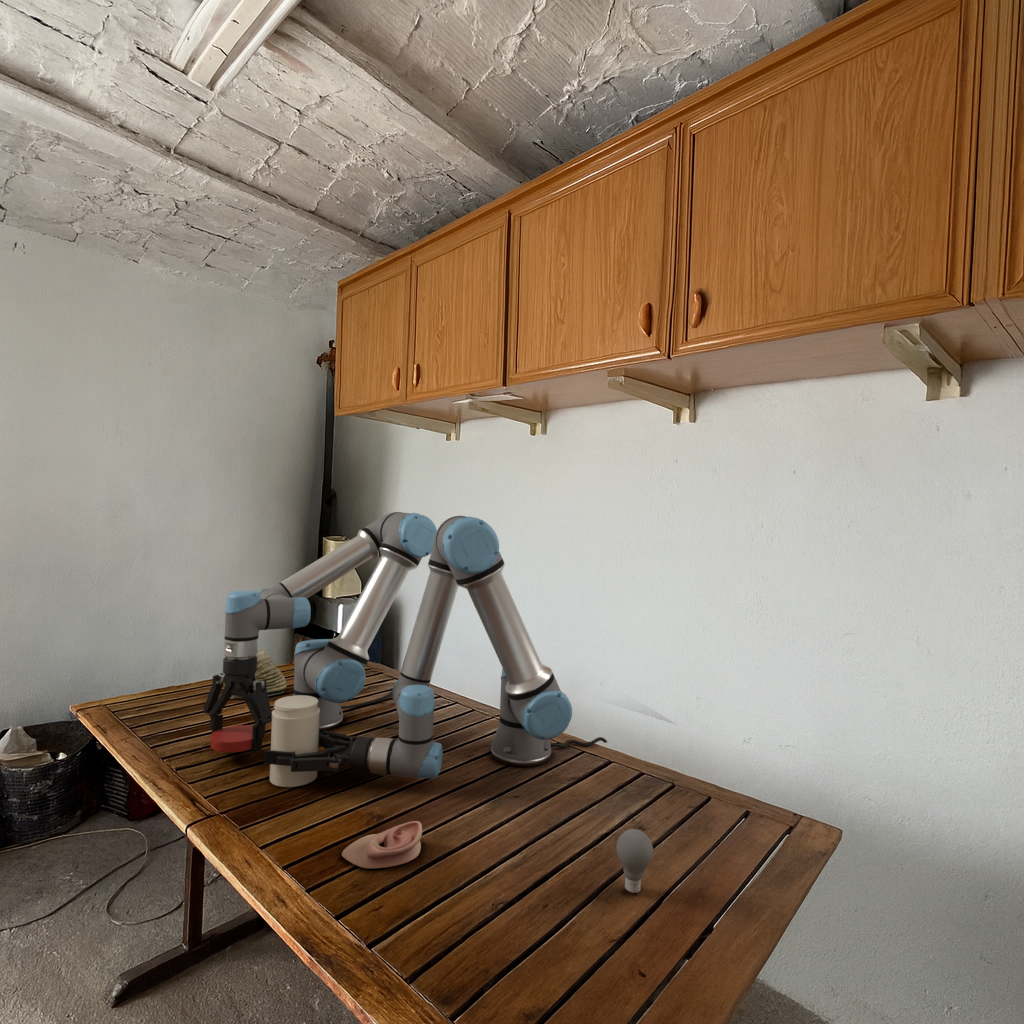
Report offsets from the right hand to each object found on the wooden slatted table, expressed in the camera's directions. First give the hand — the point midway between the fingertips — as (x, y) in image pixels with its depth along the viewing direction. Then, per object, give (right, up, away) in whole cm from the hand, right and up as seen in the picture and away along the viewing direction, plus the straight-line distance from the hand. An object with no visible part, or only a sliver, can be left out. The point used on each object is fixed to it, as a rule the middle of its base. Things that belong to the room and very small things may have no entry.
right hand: (276, 747), depth 143 cm
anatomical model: (+30, -8, -29) cm, 42 cm away
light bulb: (+73, -10, -37) cm, 83 cm away
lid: (-13, 0, +9) cm, 15 cm away
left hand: (-13, -3, +9) cm, 16 cm away
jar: (+4, -7, 0) cm, 8 cm away
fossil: (-28, -4, +55) cm, 62 cm away
